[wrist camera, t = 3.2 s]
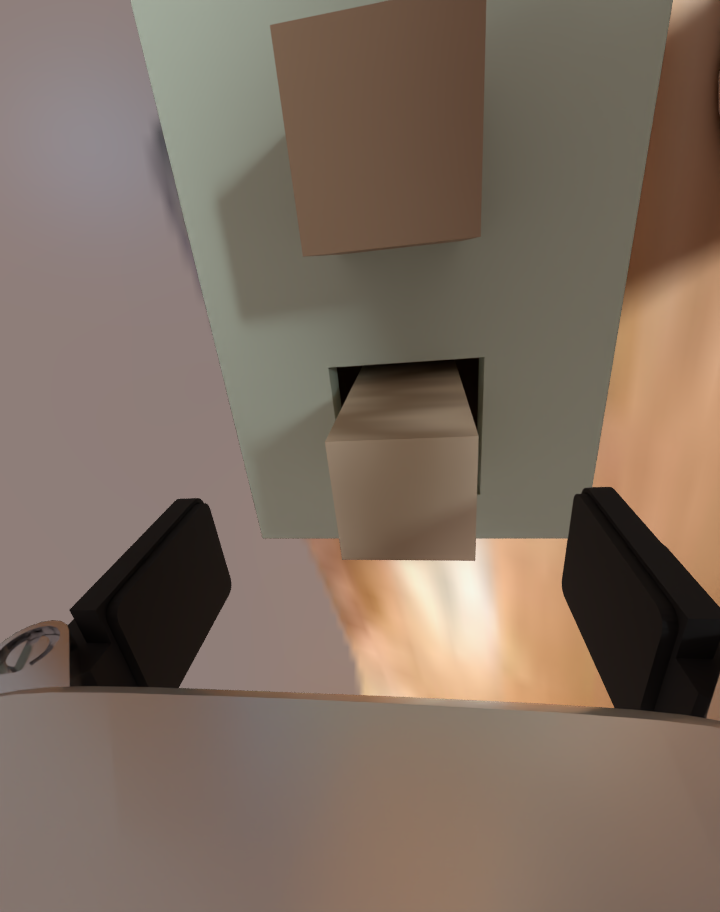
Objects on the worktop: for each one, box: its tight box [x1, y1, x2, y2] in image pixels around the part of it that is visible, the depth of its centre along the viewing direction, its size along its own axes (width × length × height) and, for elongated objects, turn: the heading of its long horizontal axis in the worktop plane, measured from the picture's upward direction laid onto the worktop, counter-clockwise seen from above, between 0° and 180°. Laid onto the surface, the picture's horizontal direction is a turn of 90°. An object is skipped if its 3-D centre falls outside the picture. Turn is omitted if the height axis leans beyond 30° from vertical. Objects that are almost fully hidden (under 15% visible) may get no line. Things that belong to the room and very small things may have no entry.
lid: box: [130, 0, 673, 538], centre depth 11 cm, size 14×26×6 cm, turn 6°
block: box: [325, 359, 479, 561], centre depth 18 cm, size 4×4×14 cm
